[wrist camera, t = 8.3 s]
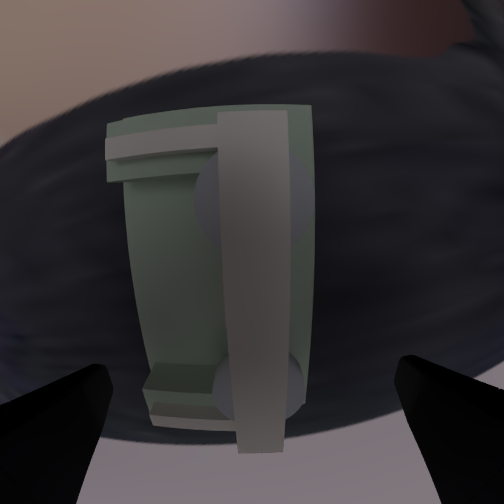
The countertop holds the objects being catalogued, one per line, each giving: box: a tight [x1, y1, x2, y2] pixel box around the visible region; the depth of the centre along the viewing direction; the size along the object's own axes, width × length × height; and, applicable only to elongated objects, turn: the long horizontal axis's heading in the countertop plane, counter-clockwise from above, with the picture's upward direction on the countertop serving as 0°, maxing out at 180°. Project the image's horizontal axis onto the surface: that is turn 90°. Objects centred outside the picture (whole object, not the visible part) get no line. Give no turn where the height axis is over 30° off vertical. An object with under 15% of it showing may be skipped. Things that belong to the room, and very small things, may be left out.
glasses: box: [105, 110, 315, 453], centre depth 12 cm, size 9×16×3 cm, turn 2°
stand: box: [107, 104, 315, 412], centre depth 15 cm, size 11×20×4 cm, turn 2°
